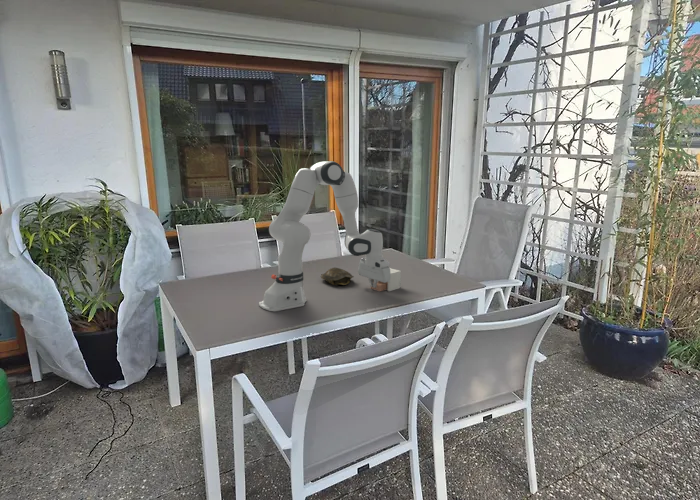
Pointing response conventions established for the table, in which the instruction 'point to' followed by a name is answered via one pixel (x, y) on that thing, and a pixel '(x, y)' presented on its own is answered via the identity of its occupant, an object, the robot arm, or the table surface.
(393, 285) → the white storage bin
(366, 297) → the table surface
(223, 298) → the table surface
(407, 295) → the table surface
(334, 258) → the table surface
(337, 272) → the turtle shell
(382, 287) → the tan rectangular block
